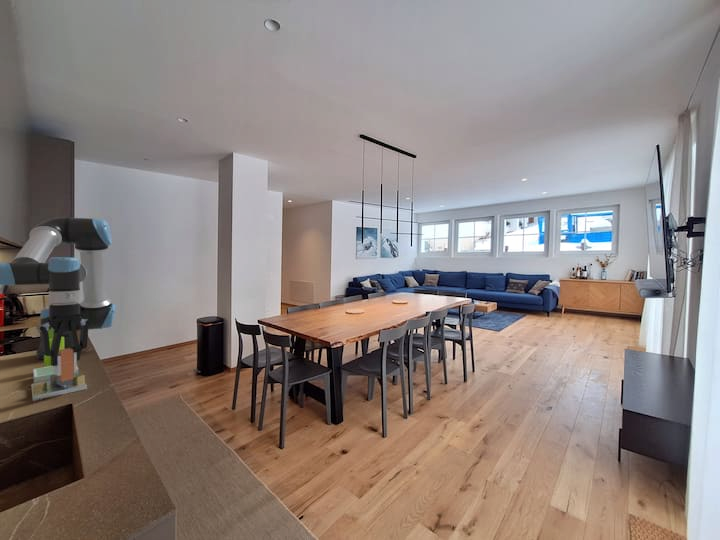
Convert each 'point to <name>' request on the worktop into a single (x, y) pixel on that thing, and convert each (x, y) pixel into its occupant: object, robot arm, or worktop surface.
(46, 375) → the tray
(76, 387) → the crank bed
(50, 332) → the soap dispenser
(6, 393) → the worktop surface
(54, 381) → the crank
